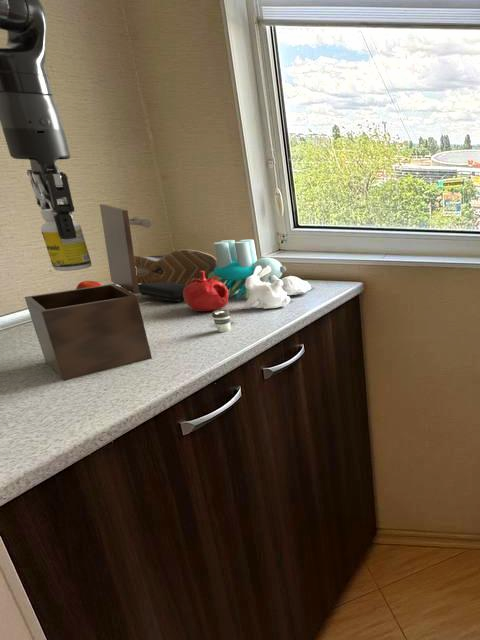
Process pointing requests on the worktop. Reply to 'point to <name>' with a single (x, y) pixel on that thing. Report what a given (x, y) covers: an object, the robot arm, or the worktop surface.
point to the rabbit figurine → (265, 291)
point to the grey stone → (294, 285)
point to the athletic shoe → (174, 267)
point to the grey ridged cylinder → (222, 320)
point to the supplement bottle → (64, 246)
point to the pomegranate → (206, 294)
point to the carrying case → (163, 290)
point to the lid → (121, 245)
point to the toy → (241, 265)
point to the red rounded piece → (87, 284)
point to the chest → (89, 329)
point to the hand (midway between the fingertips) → (63, 235)
